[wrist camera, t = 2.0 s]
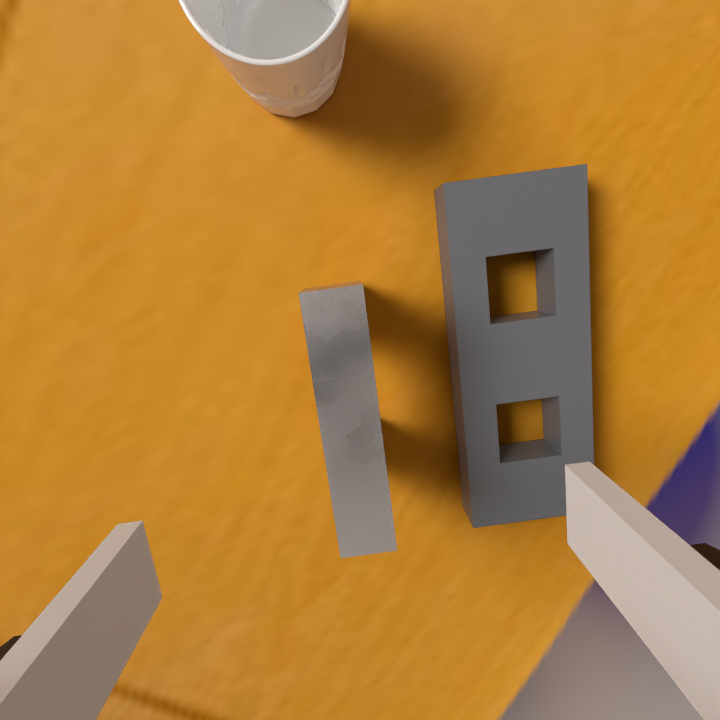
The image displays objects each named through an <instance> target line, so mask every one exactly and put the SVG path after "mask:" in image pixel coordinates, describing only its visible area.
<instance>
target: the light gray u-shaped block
mask: <svg viewBox="0 0 720 720" xmlns="http://www.w3.org/2000/svg"><path fill="white" fill-rule="evenodd" d="M299 298H300V304H301V311H302V317H303V323H304V330H305V336H306V342H307V348H308V355H309V361H310V367H311V374H312V380H313V386H314V393H315V399H316V405H317V411H318V418H319V424H320V430H321V437H322V443H323V449H324V455H325V462H326V468H327V474H328V481H329V487H330V493H331V500H332V506H333V512H334V518H335V525H336V531H337V537H338V544H339V550H340V556H341V558H345V557H353V556H360V555H367V554H375V553H382V552H389V551H397V545H396V538H395V530H394V522H393V514H392V506H391V499H390V491H389V483H388V475H387V467H386V460H385V452H384V444H383V436H382V429H381V421H380V413H379V405H378V397H377V390H376V382H375V374H374V366H373V358H372V351H371V343H370V335H369V327H368V319H367V312H366V304H365V296H364V288H363V284H362V282H361V281H356V282H349V283H341V284H334V285H326V286H319V287H312V288H305V289H304V290H302V291H301V292H299Z"/></svg>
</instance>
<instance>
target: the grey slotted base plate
mask: <svg viewBox="0 0 720 720" xmlns="http://www.w3.org/2000/svg"><path fill="white" fill-rule="evenodd" d="M434 193H435V204H436V215H437V226H438V237H439V248H440V259H441V270H442V281H443V292H444V303H445V314H446V325H447V336H448V347H449V358H450V369H451V380H452V391H453V401H454V412H455V423H456V434H457V445H458V456H459V467H460V478H461V489H462V500H463V507H464V509H465V512H466V514H467V516H468V518H469V520H470V522H471V524H472V526H473V528H477V527H484V526H491V525H499V524H506V523H513V522H521V521H528V520H535V519H543V518H550V517H557V516H565V515H567V513H566V484H565V465H567V464H574V463H582V462H589V461H590V462H591V463H592V464H593V465H594V441H593V397H592V353H591V310H590V266H589V223H588V179H587V164H583V165H576V166H568V167H561V168H554V169H546V170H539V171H531V172H524V173H516V174H509V175H501V176H494V177H486V178H479V179H471V180H464V181H457V182H449V183H443V184H442V185H441V186H439V187H438V188H437V189H435V190H434ZM534 250H535V264H536V285H537V306H538V311H532V312H525V313H517V314H510V315H502V316H495V317H490V311H489V297H488V283H487V268H486V257H490V256H497V255H505V254H512V253H519V252H527V251H534ZM541 398H542V411H543V432H544V439H540V440H532V441H525V442H518V443H510V444H503V445H499V439H498V425H497V410H496V405H497V404H504V403H511V402H519V401H526V400H534V399H541Z"/></svg>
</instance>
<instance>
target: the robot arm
mask: <svg viewBox="0 0 720 720" xmlns="http://www.w3.org/2000/svg"><path fill="white" fill-rule="evenodd" d="M565 484H566V513H567V542H568V545H569V546H570V547H571V549H572V550H573V551H574V553H575V554H576V555H577V556H578V558H579V559H580V560H581V562H582V563H583V564H584V565H585V567H586V568H587V569H588V571H589V572H590V573H591V574H592V576H593V577H594V578H595V580H596V581H597V582H598V584H599V585H600V586H601V587H602V589H603V590H604V591H605V593H606V594H607V595H608V596H609V598H610V599H611V600H612V602H613V603H614V604H615V606H616V607H617V608H618V609H619V611H620V612H621V613H622V615H623V616H624V617H625V618H626V620H627V621H628V622H629V624H630V625H631V626H632V627H633V629H634V630H635V631H636V633H637V634H638V635H639V637H640V638H641V639H642V640H643V642H644V643H645V644H646V646H647V647H648V648H649V649H650V651H651V652H652V653H653V655H654V656H655V657H656V659H657V660H658V661H659V662H660V664H661V665H662V666H663V667H664V669H665V670H666V671H667V673H668V674H669V675H670V676H671V678H672V679H673V680H674V682H675V683H676V684H677V686H678V687H679V688H680V690H681V691H682V692H683V693H684V695H685V696H686V697H687V698H688V700H689V701H690V702H691V704H692V705H693V706H694V708H695V709H696V710H697V711H698V713H699V714H700V715H701V717H702V718H703V719H704V720H720V550H718V549H716V548H714V547H712V546H710V545H708V544H706V543H703V544H695V545H689V544H687V543H686V542H685V541H684V540H683V539H681V538H680V537H679V536H678V535H677V534H675V533H674V532H673V531H672V530H671V529H669V528H668V527H667V526H666V525H665V524H664V523H662V522H661V521H660V520H659V519H657V518H656V517H655V516H654V515H653V514H652V513H650V512H649V511H648V510H647V509H646V508H644V507H643V506H642V505H641V504H640V503H638V502H637V501H636V500H635V499H634V498H633V497H631V496H630V495H629V494H628V493H627V492H625V491H624V490H623V489H622V488H621V487H619V486H618V485H617V484H616V483H615V482H613V481H612V480H611V479H610V478H609V477H607V476H606V475H605V474H604V473H603V472H601V471H600V470H599V469H598V468H597V467H596V466H594V465H593V464H592V463H591V462H590V461H589V462H582V463H574V464H567V465H565ZM161 599H162V594H161V590H160V586H159V582H158V578H157V575H156V571H155V567H154V563H153V559H152V555H151V551H150V548H149V544H148V540H147V536H146V532H145V528H144V524H143V521H137V522H129V523H122V524H117V526H116V527H115V528H114V529H113V530H112V531H111V533H110V534H109V535H108V536H107V537H106V538H105V540H104V541H103V542H102V543H101V544H100V545H99V547H98V548H97V549H96V550H95V551H94V552H93V554H92V555H91V556H90V557H89V558H88V559H87V560H86V562H85V563H84V564H83V565H82V566H81V567H80V569H79V570H78V571H77V572H76V573H75V574H74V576H73V577H72V578H71V579H70V580H69V581H68V583H67V584H66V585H65V586H64V587H63V588H62V590H61V591H60V592H59V593H58V594H57V595H56V597H55V598H54V599H53V600H52V601H51V602H50V604H49V605H48V606H47V607H46V608H45V609H44V611H43V612H42V613H41V614H40V615H39V616H38V617H37V619H36V620H35V621H34V622H33V623H32V624H31V626H30V627H29V628H28V629H27V630H26V631H25V633H24V634H23V635H20V636H14V637H13V638H11V639H10V640H9V641H8V642H6V643H5V644H4V645H2V646H1V647H0V720H96V719H97V717H98V715H99V713H100V711H101V709H102V708H103V706H104V704H105V702H106V700H107V698H108V696H109V695H110V693H111V691H112V689H113V687H114V685H115V684H116V682H117V680H118V678H119V676H120V674H121V673H122V671H123V669H124V667H125V665H126V663H127V661H128V660H129V658H130V656H131V654H132V652H133V650H134V649H135V647H136V645H137V643H138V641H139V639H140V638H141V636H142V634H143V632H144V630H145V628H146V626H147V625H148V623H149V621H150V619H151V617H152V615H153V614H154V612H155V610H156V608H157V606H158V604H159V603H160V601H161Z"/></svg>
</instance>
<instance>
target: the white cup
mask: <svg viewBox="0 0 720 720" xmlns="http://www.w3.org/2000/svg"><path fill="white" fill-rule="evenodd" d="M179 2H180V4H181V6H182V8H183V10H184V12H185V14H186V16H187V17H188V19H189V21H190V22H191V23H192V25H193V26H194V28H195V29H196V30H197V31H198V33H199V34H200V35H201V37H202V38H203V39H204V41H205V42H206V43H207V45H208V46H209V47H210V49H211V50H212V51H213V53H214V54H215V55H216V57H217V58H218V59H219V61H220V62H221V63H222V65H223V66H224V67H225V68H226V70H227V71H228V72H229V73H230V74H231V75H232V77H233V78H234V79H235V81H236V82H237V83H238V84H239V85H240V86H241V87H242V88H243V89H244V90H245V91H246V92H247V94H248V95H249V97H250V98H251V99H252V100H254V101H255V102H256V103H258V104H259V105H260V106H262V107H263V108H264V109H266V110H267V111H268V112H270V113H272V114H277V115H283V116H288V117H293V118H294V117H298V116H301V115H304V114H307V113H310V112H313V111H316V110H317V109H318V108H319V107H320V106H321V105H322V104H323V103H324V102H325V101H326V100H327V99H328V98H329V97H330V96H331V95H332V94H333V92H334V90H335V87H336V84H337V81H338V79H339V76H340V73H341V70H342V61H343V57H344V52H345V46H346V39H347V32H348V24H349V13H350V3H351V0H179Z"/></svg>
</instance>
